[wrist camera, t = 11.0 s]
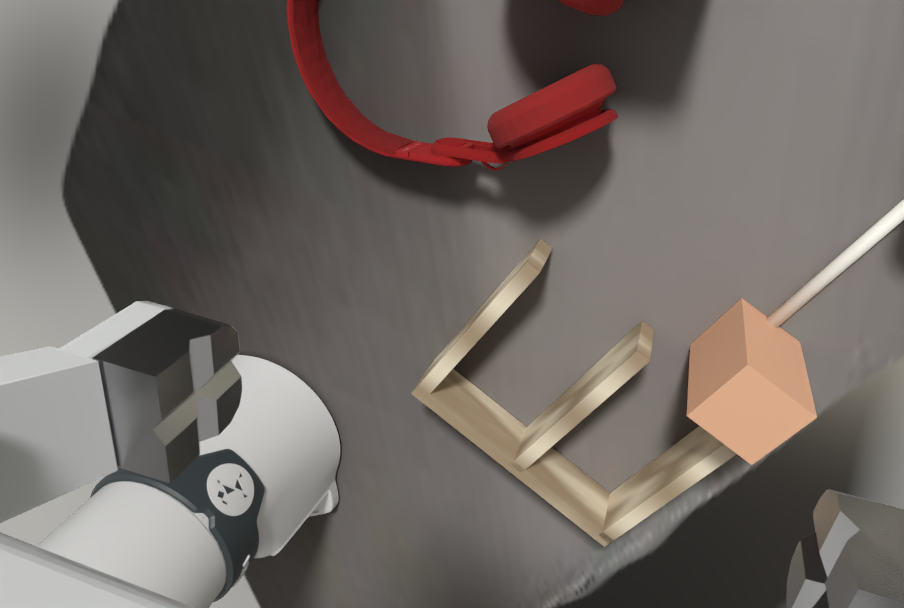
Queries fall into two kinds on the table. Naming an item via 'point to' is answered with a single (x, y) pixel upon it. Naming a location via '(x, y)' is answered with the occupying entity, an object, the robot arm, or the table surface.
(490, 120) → the headphones
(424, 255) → the table surface
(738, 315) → the block
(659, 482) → the lane shelf
